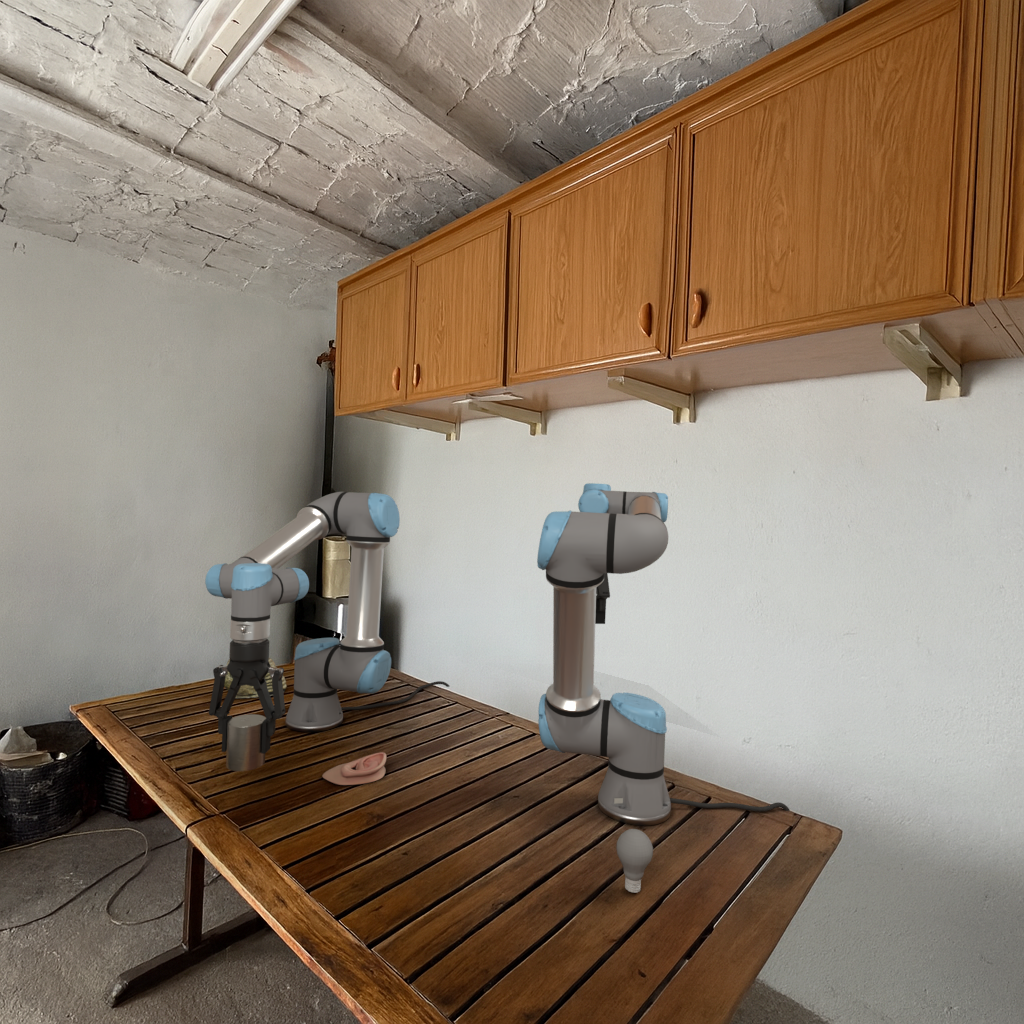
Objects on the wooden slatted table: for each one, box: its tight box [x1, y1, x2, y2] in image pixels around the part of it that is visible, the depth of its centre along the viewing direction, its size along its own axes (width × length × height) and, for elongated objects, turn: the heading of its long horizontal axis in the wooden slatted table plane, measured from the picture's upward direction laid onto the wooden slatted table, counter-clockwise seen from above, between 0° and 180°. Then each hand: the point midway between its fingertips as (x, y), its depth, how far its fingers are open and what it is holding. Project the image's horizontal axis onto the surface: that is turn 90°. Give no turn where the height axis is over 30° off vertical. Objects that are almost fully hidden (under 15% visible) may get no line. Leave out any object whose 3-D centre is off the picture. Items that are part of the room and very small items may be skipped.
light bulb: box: [615, 828, 654, 894], centre depth 106 cm, size 6×6×10 cm
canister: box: [225, 713, 266, 772], centre depth 130 cm, size 7×7×9 cm
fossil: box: [224, 657, 288, 699], centre depth 198 cm, size 9×18×15 cm, turn 132°
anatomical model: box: [321, 751, 387, 786], centre depth 144 cm, size 13×4×12 cm
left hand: (246, 749), depth 130 cm, fingers closed on canister, 7 cm apart
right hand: (591, 618), depth 172 cm, fingers open, 13 cm apart
